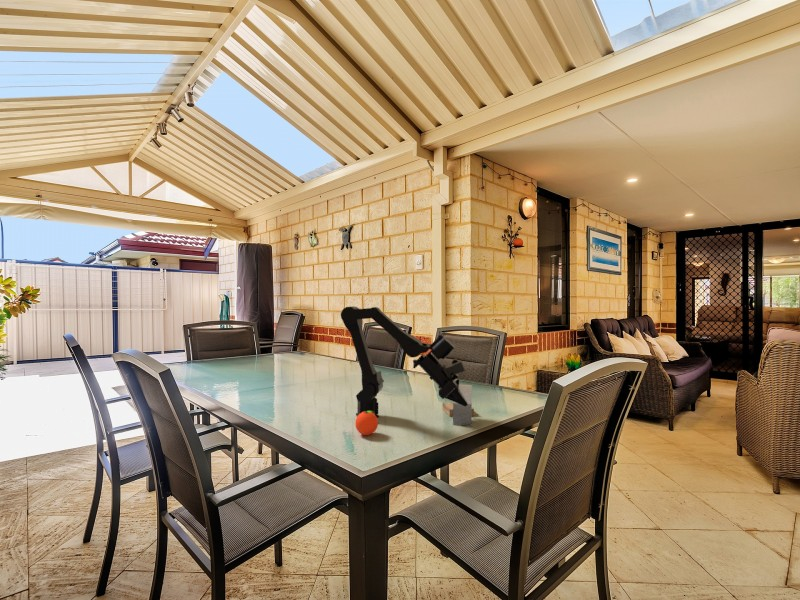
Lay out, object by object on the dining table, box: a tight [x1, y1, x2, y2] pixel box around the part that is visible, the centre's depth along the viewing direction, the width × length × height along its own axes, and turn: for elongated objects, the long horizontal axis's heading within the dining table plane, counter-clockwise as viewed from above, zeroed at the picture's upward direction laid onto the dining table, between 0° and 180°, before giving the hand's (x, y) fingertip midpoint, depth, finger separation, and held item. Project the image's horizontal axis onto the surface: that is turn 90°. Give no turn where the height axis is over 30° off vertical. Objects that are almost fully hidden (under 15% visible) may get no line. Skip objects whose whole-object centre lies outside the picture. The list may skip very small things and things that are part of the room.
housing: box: [452, 384, 473, 427], centre depth 131 cm, size 6×6×12 cm
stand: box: [442, 402, 475, 418], centre depth 143 cm, size 9×9×2 cm
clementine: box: [354, 411, 379, 436], centre depth 120 cm, size 8×7×7 cm
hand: (466, 402), depth 131 cm, fingers closed on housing, 6 cm apart
